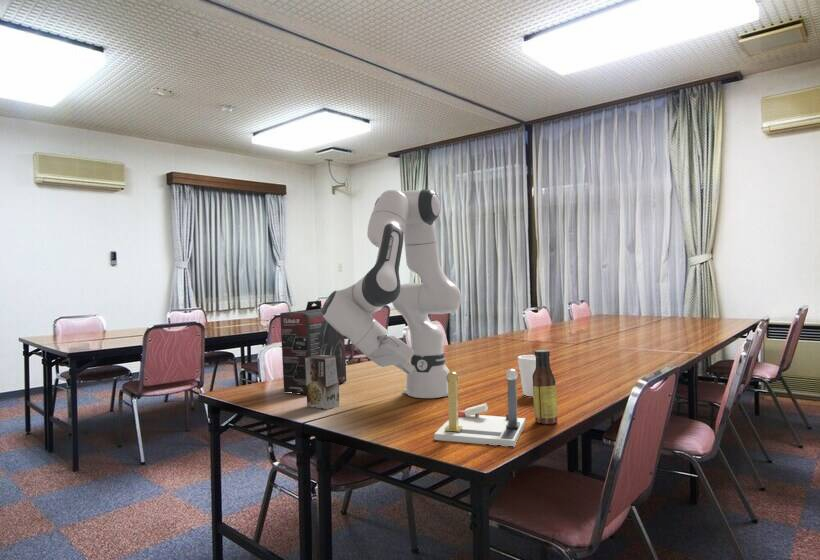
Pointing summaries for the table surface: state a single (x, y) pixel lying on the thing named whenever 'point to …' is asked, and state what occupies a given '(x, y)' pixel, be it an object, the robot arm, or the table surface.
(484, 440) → the panel
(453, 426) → the brass lever
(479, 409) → the block
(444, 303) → the robot arm
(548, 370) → the sauce bottle
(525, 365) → the foam cup
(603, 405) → the table surface
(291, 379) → the headset box
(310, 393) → the coffee box
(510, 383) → the graphite lever
